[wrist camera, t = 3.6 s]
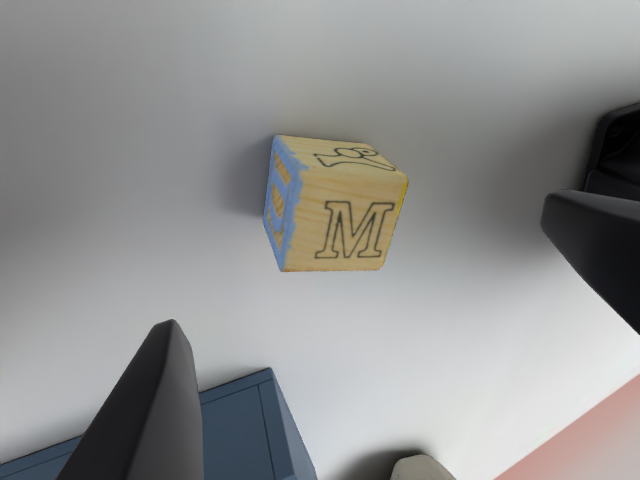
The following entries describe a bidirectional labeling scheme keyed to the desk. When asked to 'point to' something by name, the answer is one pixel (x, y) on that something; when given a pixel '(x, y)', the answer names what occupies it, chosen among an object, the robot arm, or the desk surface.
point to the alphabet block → (330, 204)
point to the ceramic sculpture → (420, 469)
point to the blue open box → (218, 437)
